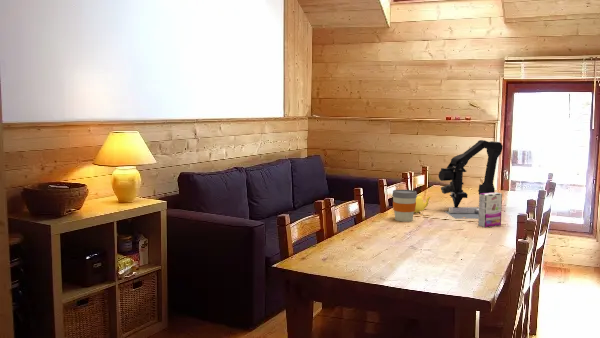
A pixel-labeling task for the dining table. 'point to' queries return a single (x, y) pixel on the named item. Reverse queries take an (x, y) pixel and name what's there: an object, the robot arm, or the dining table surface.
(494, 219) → the candy bar box
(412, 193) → the reusable coffee cup
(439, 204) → the dining table surface
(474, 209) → the dial lever
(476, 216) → the dial plate
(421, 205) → the teapot
